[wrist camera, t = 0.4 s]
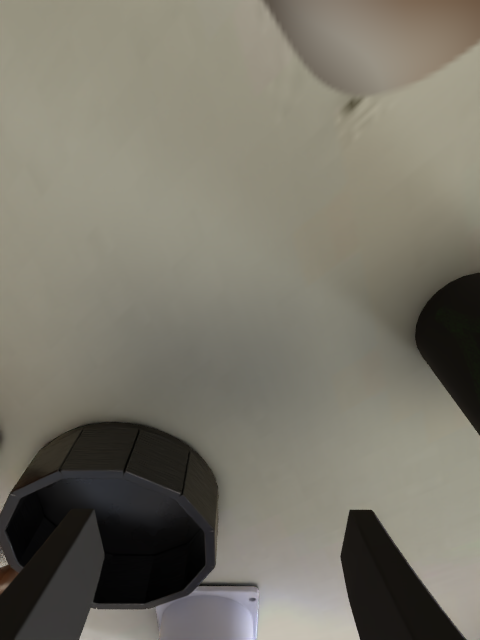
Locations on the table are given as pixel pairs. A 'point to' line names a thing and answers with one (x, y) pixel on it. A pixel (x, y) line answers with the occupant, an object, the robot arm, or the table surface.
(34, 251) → the table surface
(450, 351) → the cup
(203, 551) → the pan
